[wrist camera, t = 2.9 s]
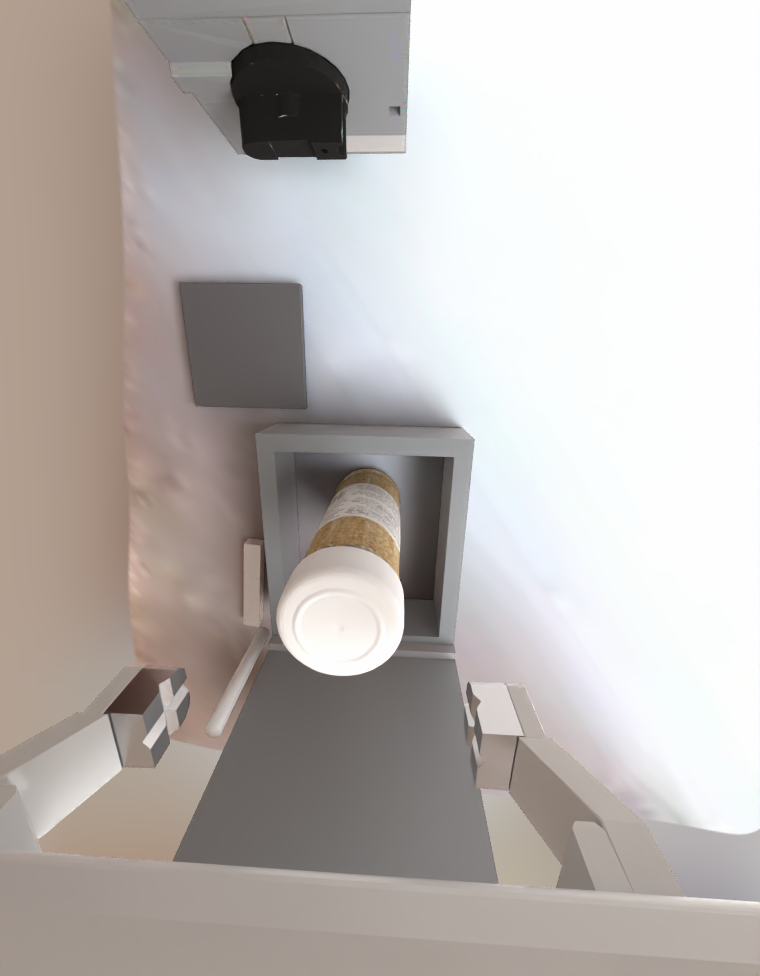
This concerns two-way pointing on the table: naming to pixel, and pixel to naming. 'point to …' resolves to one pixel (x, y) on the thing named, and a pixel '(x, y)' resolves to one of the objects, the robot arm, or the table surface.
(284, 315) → the pad
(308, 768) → the case
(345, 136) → the circuit breaker
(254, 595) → the rod
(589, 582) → the table surface
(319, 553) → the sprinkles bottle
